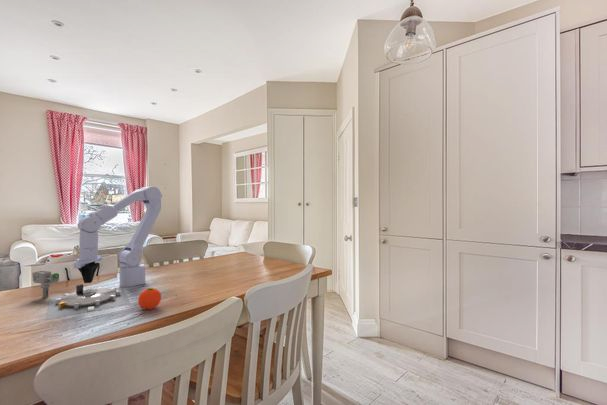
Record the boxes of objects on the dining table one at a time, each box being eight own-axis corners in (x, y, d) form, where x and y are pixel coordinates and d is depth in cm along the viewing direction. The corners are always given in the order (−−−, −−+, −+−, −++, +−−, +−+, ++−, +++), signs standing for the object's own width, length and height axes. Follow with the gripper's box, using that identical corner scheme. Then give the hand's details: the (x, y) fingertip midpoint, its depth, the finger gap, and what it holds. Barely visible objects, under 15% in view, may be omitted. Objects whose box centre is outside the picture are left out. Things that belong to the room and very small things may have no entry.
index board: (121, 289, 116) (122, 285, 116) (130, 306, 97) (130, 302, 97) (50, 300, 102) (50, 296, 102) (44, 323, 83) (45, 318, 83)
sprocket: (131, 294, 106) (131, 283, 106) (77, 312, 89) (77, 298, 89) (99, 288, 113) (99, 277, 113) (42, 304, 95) (43, 291, 95)
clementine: (140, 305, 99) (141, 285, 99) (162, 303, 101) (162, 283, 101) (136, 314, 91) (136, 292, 91) (159, 311, 94) (160, 290, 94)
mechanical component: (52, 302, 100) (52, 274, 100) (29, 299, 103) (30, 272, 102) (60, 299, 103) (61, 272, 103) (39, 296, 105) (39, 270, 105)
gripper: (88, 244, 115) (88, 277, 115) (64, 251, 101) (63, 288, 101) (107, 244, 116) (106, 277, 116) (86, 250, 102) (85, 288, 102)
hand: (88, 282), depth 108 cm, fingers closed
